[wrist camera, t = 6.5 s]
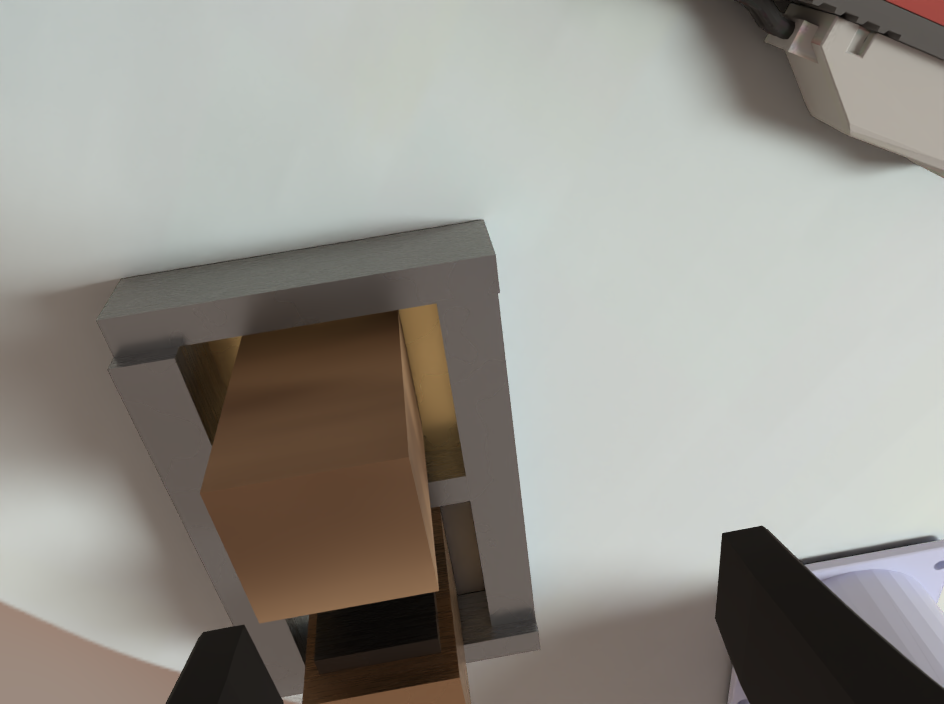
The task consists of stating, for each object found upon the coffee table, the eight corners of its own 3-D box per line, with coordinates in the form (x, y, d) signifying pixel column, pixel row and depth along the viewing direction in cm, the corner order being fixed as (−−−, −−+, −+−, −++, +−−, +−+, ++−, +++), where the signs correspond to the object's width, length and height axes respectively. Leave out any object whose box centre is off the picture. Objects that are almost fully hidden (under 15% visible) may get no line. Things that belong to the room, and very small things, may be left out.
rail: (529, 600, 26) (567, 769, 21) (282, 645, 26) (263, 826, 21) (483, 219, 18) (528, 350, 13) (121, 278, 18) (26, 435, 13)
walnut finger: (425, 437, 21) (443, 608, 16) (289, 461, 21) (266, 640, 16) (397, 303, 19) (409, 457, 14) (243, 329, 19) (199, 493, 14)
